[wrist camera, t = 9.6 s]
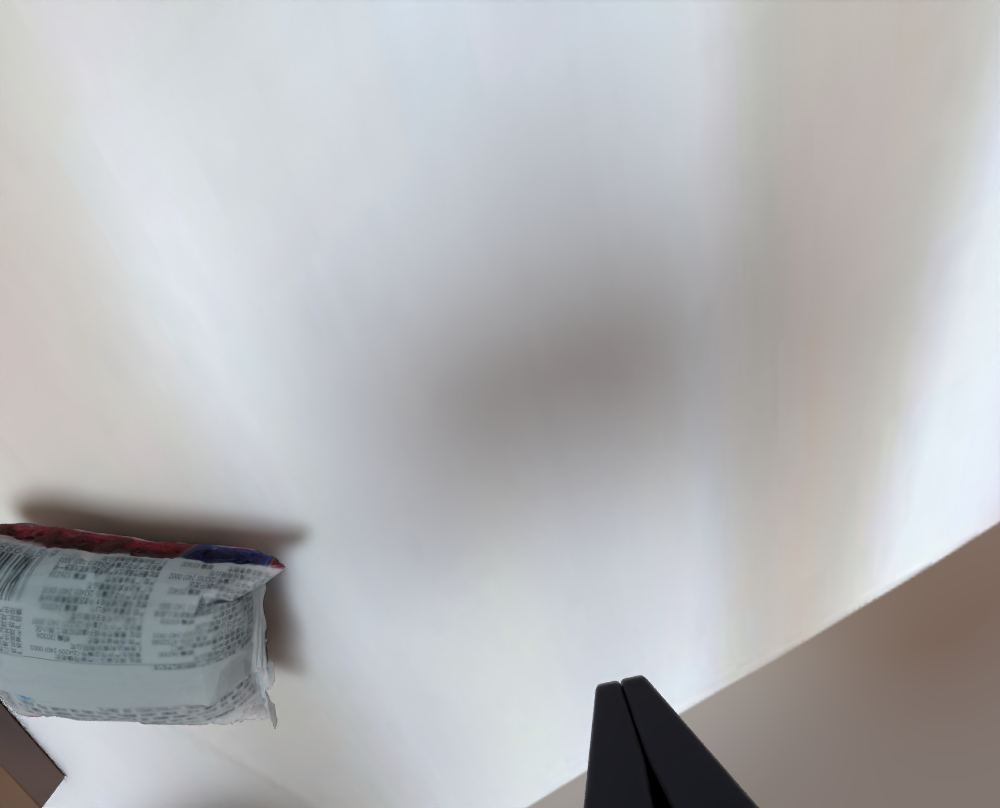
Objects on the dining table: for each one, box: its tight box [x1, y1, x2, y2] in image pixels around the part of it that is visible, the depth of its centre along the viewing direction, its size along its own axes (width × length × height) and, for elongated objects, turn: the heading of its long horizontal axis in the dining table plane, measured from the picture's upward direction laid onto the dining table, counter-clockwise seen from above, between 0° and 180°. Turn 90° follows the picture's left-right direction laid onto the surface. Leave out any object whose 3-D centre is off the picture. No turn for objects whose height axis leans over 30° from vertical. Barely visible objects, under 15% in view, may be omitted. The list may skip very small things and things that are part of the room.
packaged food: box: [0, 523, 287, 730], centre depth 19 cm, size 9×12×5 cm
